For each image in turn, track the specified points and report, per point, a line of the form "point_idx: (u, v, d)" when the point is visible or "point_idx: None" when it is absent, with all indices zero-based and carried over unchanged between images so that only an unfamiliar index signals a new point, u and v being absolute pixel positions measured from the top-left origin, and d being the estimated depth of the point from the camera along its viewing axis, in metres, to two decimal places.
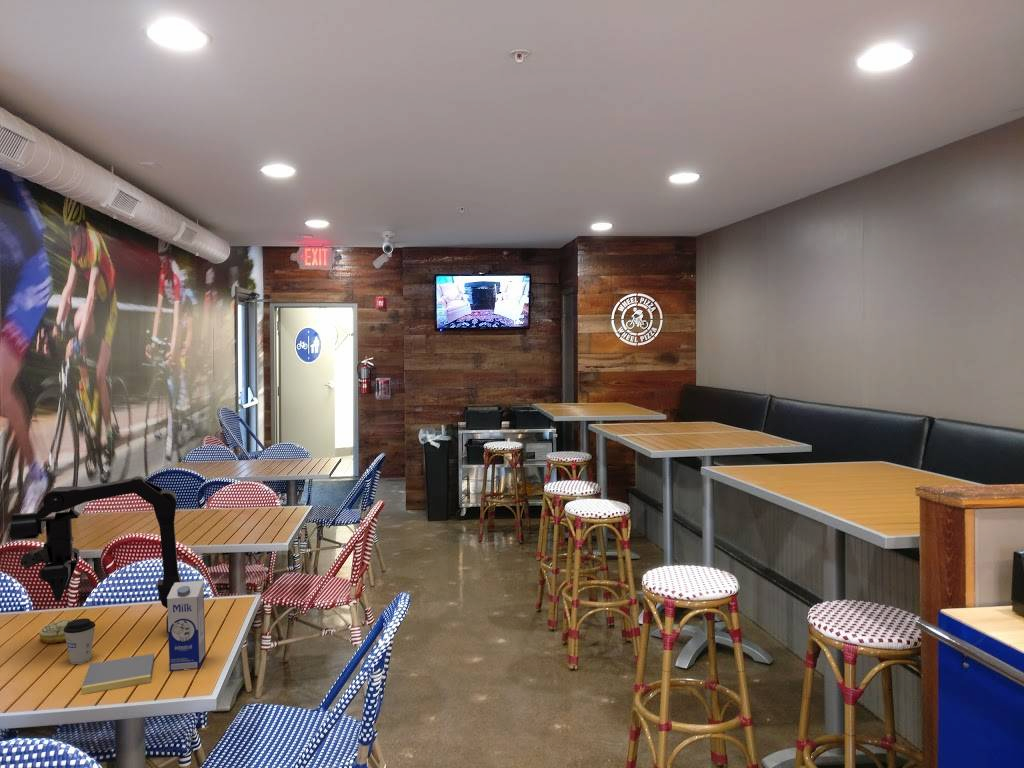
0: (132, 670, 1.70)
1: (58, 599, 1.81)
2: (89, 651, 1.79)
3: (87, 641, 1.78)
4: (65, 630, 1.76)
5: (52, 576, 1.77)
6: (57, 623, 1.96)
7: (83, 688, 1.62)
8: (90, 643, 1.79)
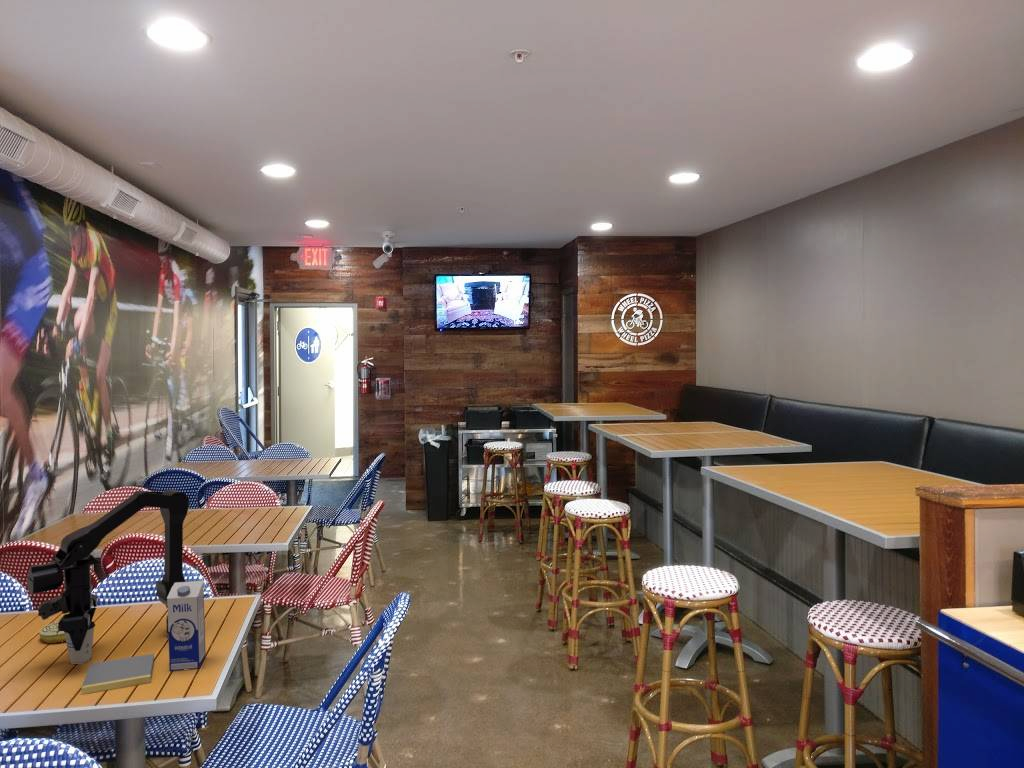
0: (132, 670, 1.70)
1: (77, 649, 1.76)
2: (89, 651, 1.79)
3: (86, 641, 1.78)
4: None
5: (71, 628, 1.70)
6: (57, 623, 1.96)
7: (83, 688, 1.62)
8: (90, 643, 1.79)
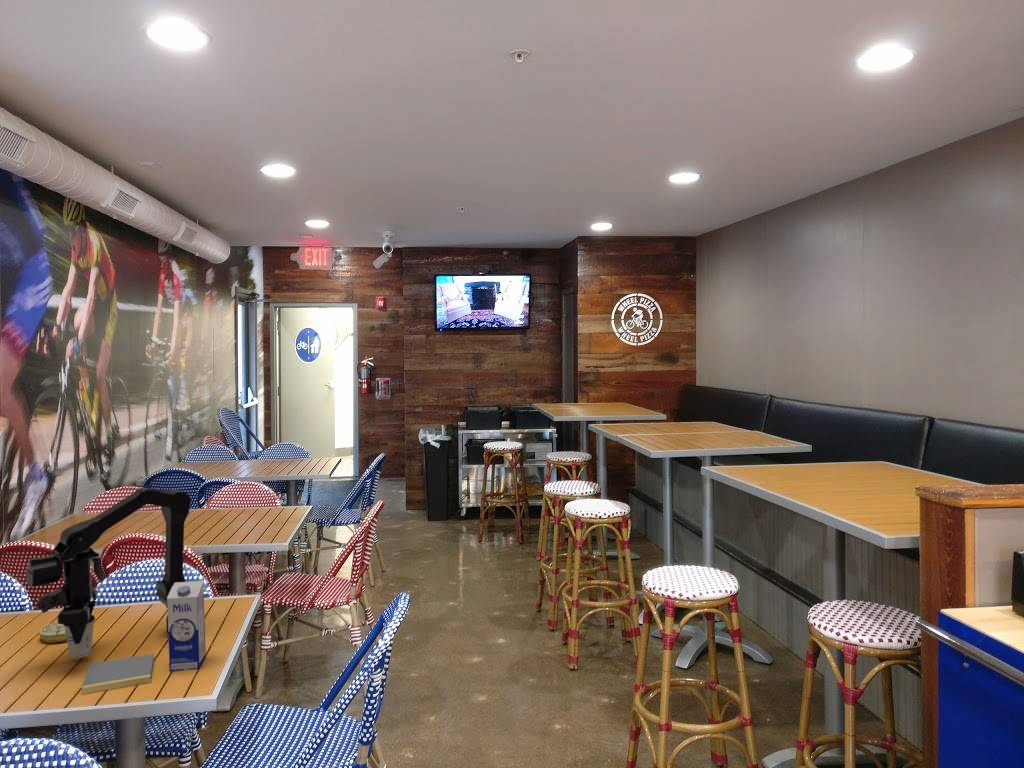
0: (132, 670, 1.70)
1: (77, 642, 1.76)
2: (89, 644, 1.79)
3: (86, 635, 1.78)
4: None
5: (71, 621, 1.70)
6: (57, 623, 1.96)
7: (83, 688, 1.62)
8: (90, 637, 1.79)
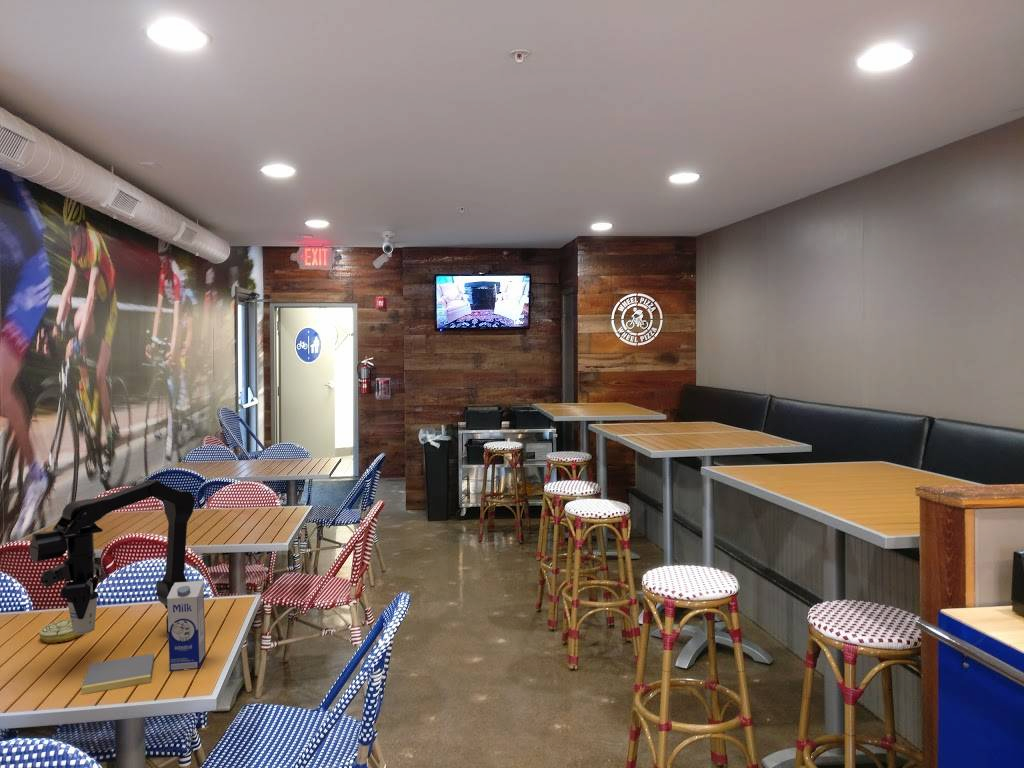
0: (132, 670, 1.70)
1: (80, 618, 1.75)
2: (92, 621, 1.78)
3: (89, 611, 1.77)
4: (68, 600, 1.75)
5: (74, 595, 1.69)
6: (57, 623, 1.96)
7: (83, 688, 1.62)
8: (93, 613, 1.78)
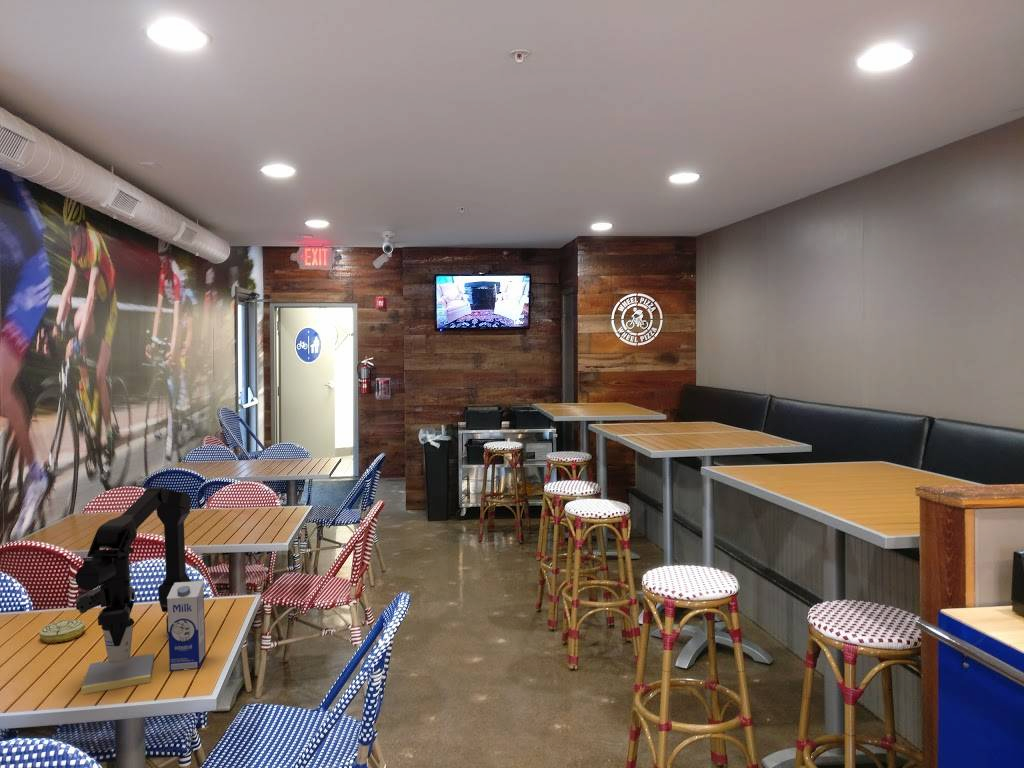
0: (132, 670, 1.70)
1: (117, 645, 1.67)
2: (128, 649, 1.70)
3: (126, 639, 1.69)
4: (103, 627, 1.67)
5: (112, 622, 1.61)
6: (57, 623, 1.96)
7: (83, 688, 1.62)
8: (129, 641, 1.70)
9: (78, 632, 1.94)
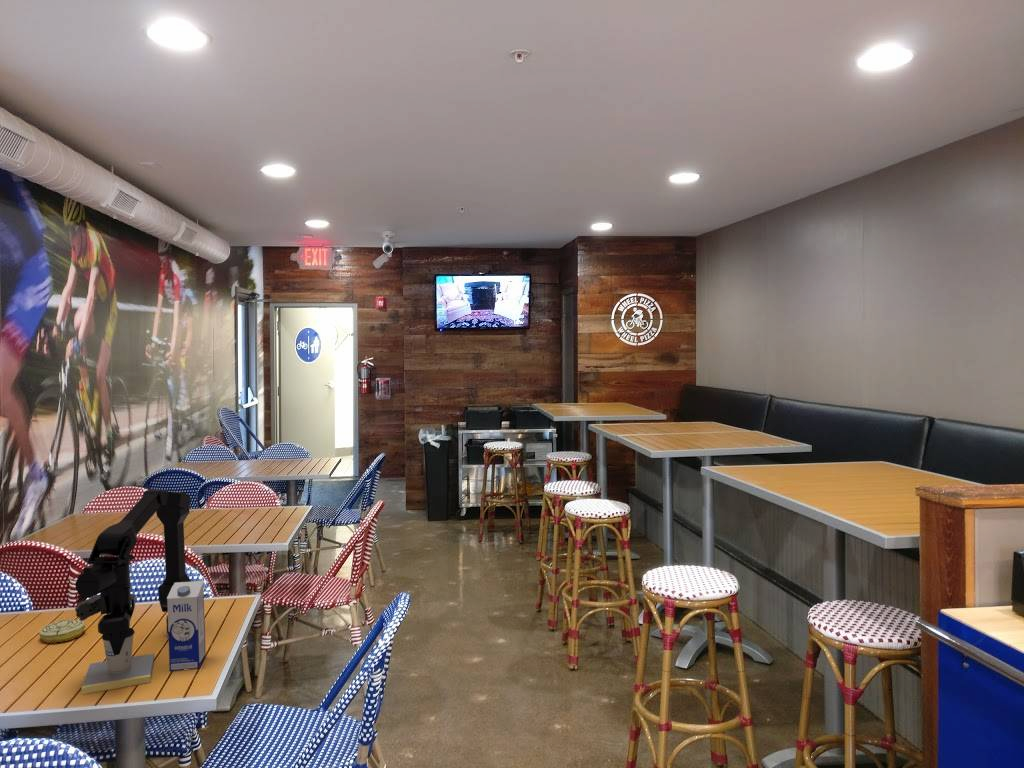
0: (132, 670, 1.70)
1: (116, 653, 1.66)
2: (128, 660, 1.70)
3: (126, 649, 1.69)
4: (104, 637, 1.68)
5: (112, 629, 1.61)
6: (57, 623, 1.96)
7: (83, 688, 1.62)
8: (129, 651, 1.70)
9: (78, 632, 1.94)
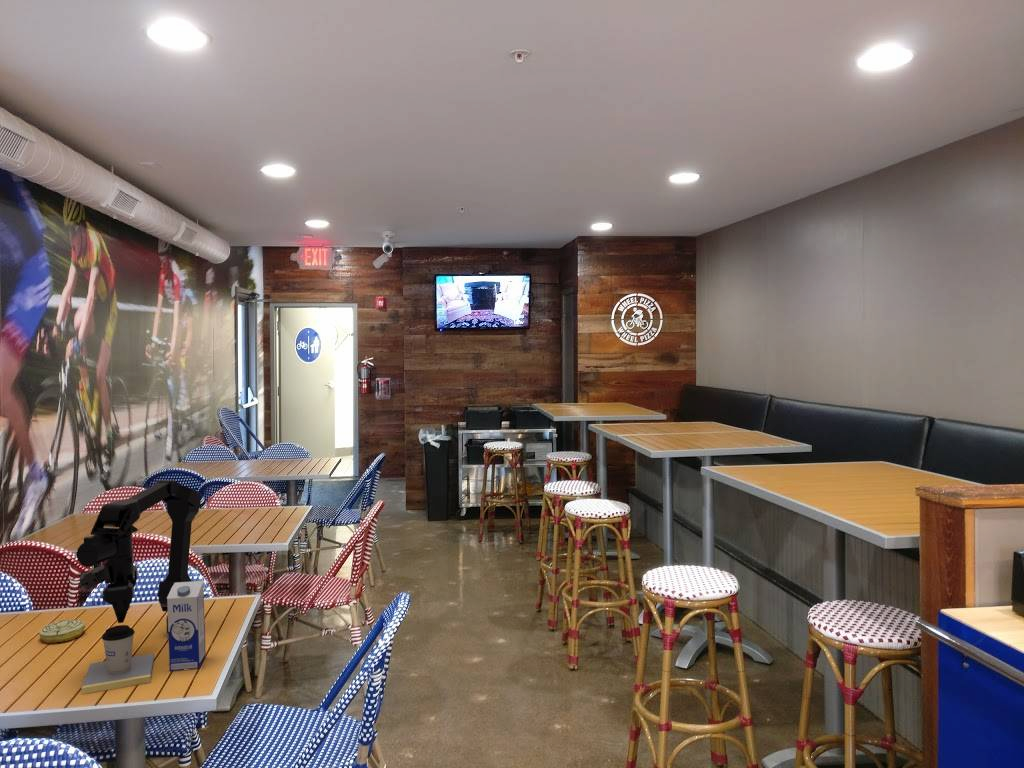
0: (132, 670, 1.70)
1: (120, 621, 1.71)
2: (128, 660, 1.70)
3: (126, 649, 1.69)
4: (104, 637, 1.68)
5: (116, 598, 1.66)
6: (57, 623, 1.96)
7: (83, 688, 1.62)
8: (129, 651, 1.70)
9: (78, 632, 1.94)
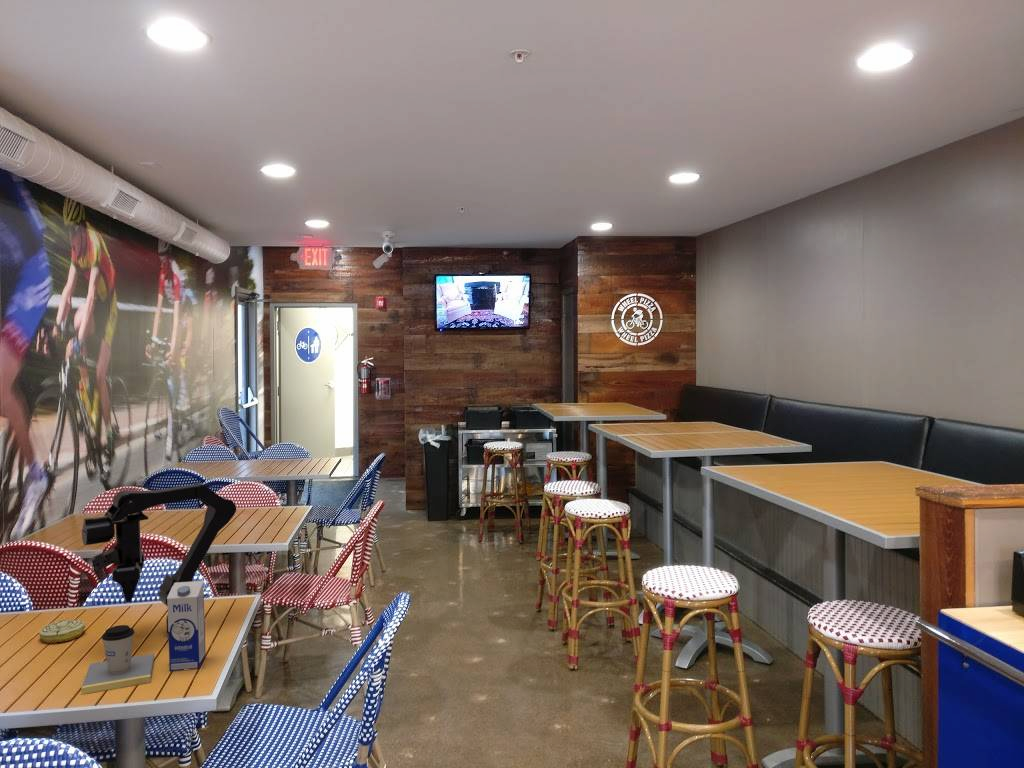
0: (132, 670, 1.70)
1: (128, 601, 1.84)
2: (128, 660, 1.70)
3: (126, 649, 1.69)
4: (104, 637, 1.68)
5: (124, 578, 1.80)
6: (57, 623, 1.96)
7: (83, 688, 1.62)
8: (129, 651, 1.70)
9: (78, 632, 1.94)
